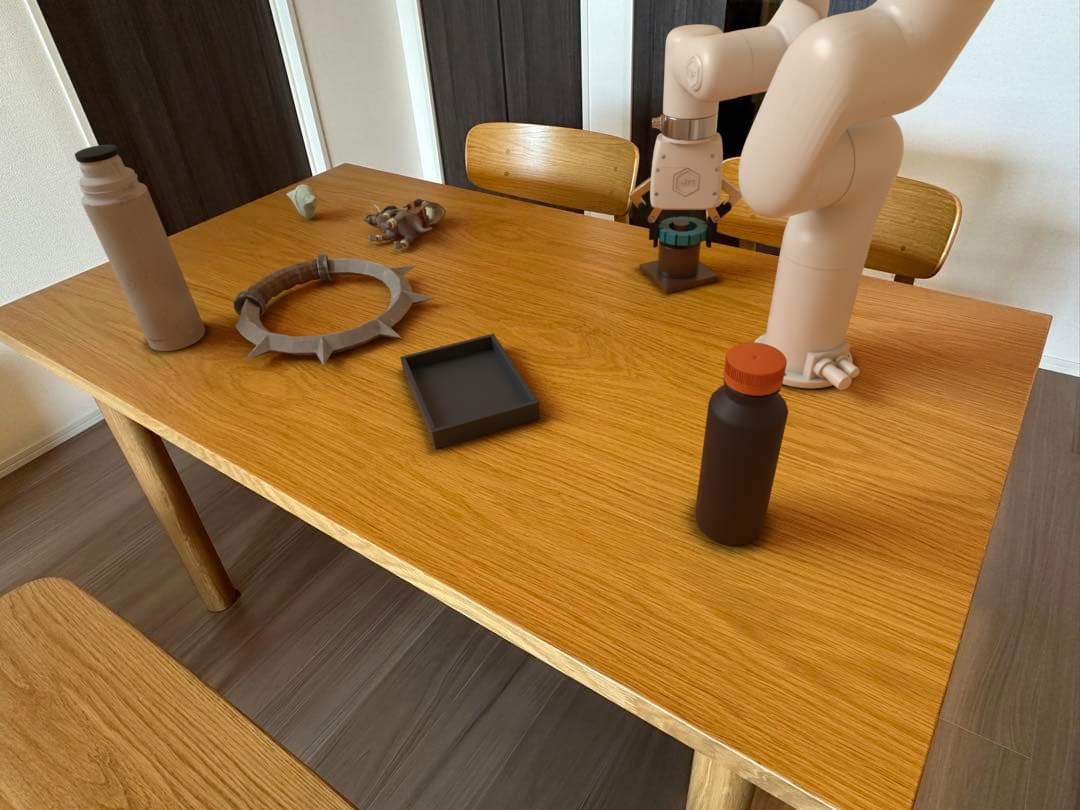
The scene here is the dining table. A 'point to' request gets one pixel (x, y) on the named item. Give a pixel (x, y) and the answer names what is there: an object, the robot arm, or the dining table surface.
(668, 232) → the ring
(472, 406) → the tray
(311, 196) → the pale green irregular chunk
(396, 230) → the figurine
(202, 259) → the dining table surface
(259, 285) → the spiked ring
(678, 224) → the ring stand
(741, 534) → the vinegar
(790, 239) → the robot arm
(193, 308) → the thermos bottle
